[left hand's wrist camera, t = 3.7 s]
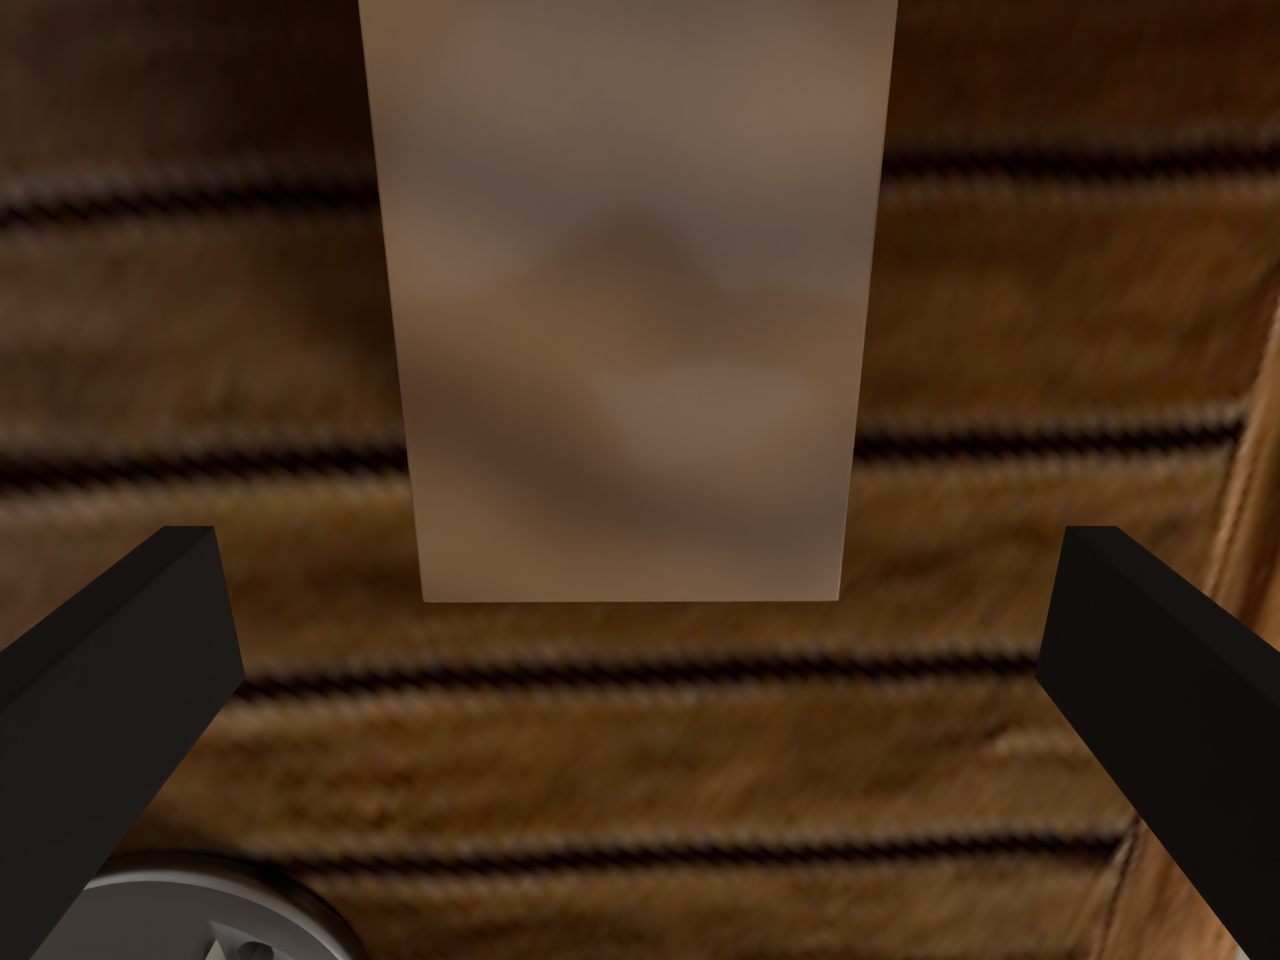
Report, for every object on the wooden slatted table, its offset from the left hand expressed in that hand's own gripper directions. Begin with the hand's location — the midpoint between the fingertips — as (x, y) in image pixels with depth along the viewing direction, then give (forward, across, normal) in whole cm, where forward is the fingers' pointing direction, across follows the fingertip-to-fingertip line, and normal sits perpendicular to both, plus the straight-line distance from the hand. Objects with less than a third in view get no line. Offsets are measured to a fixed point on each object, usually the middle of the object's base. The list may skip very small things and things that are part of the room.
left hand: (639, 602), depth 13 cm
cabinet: (+14, 0, -6) cm, 15 cm away
